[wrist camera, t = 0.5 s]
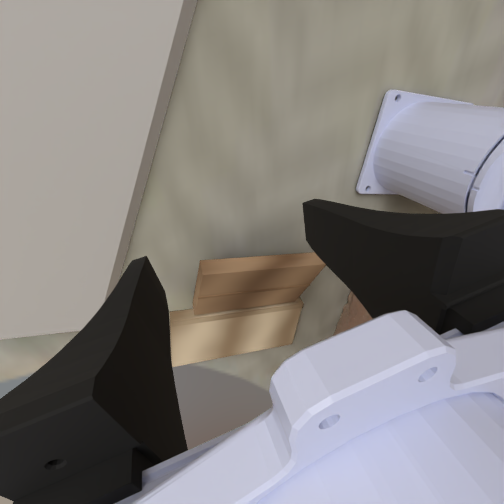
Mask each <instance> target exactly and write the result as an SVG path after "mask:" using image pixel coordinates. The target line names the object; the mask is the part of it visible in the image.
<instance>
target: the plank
mask: <svg viewBox="0 0 504 504" xmlns="http://www.w3.org/2000/svg"><path fill="white" fill-rule="evenodd" d="M325 266H326V264H325V263H324V262H323V261H322V260H321V259H320V258H319V257H318V256H317V255H316V253H315V252H313V253H299V254H284V255H270V256H256V257H242V258H228V259H214V260H200V264H199V270H198V276H197V281H196V287H195V292H194V298H193V309H194V315H200V314H208V313H215V312H222V311H230V310H237V309H244V308H252V307H259V306H266V305H274V304H281V303H288V302H295V301H296V300H297V299H298V297H299V296H300V295H301V294H302V293H303V292H304V290H305V289H306V288H307V287H308V286H309V285H310V283H311V282H312V281H313V280H314V279H315V277H316V276H317V275H318V274H319V273H320V271H321V270H322V269H323V268H324V267H325Z"/></svg>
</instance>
